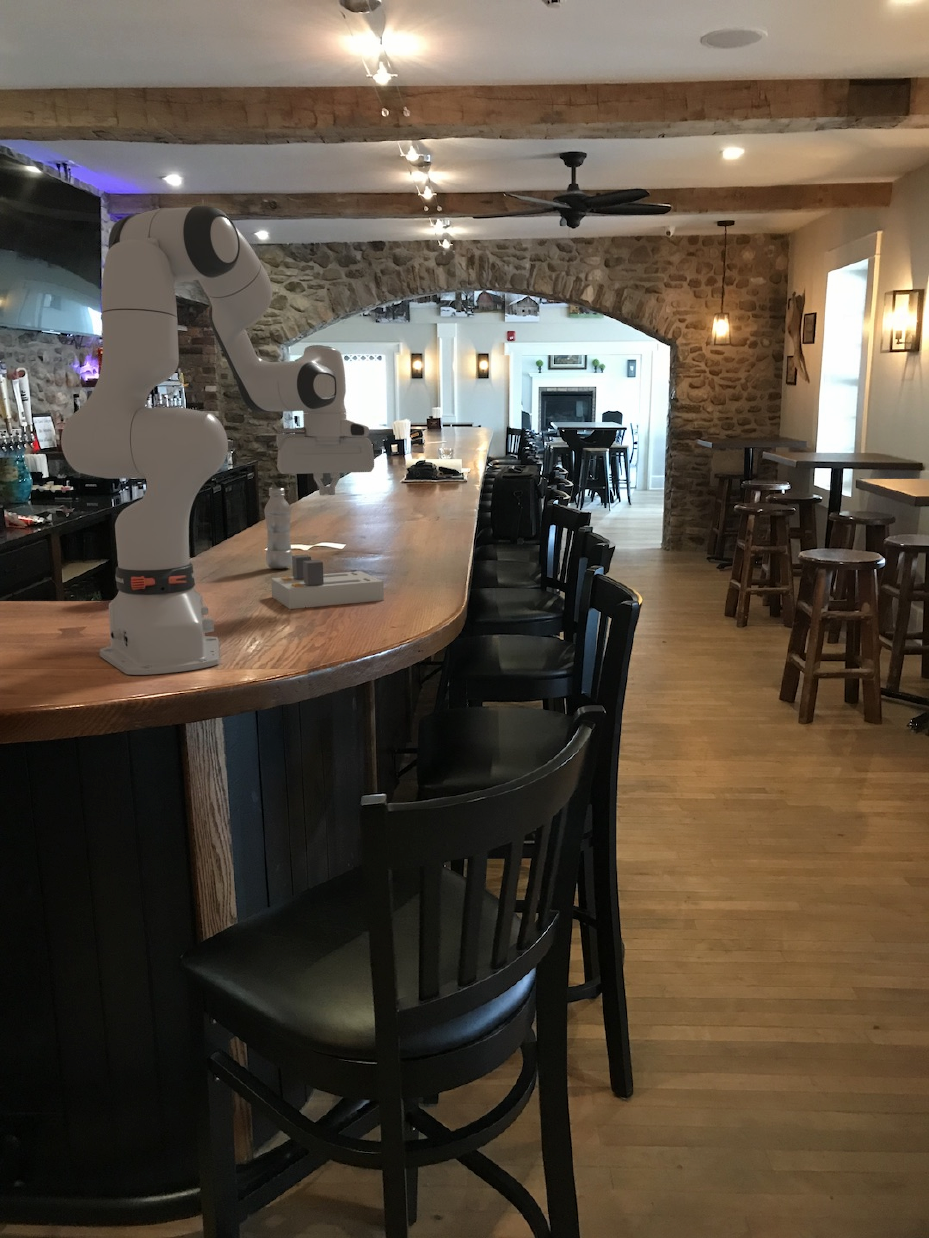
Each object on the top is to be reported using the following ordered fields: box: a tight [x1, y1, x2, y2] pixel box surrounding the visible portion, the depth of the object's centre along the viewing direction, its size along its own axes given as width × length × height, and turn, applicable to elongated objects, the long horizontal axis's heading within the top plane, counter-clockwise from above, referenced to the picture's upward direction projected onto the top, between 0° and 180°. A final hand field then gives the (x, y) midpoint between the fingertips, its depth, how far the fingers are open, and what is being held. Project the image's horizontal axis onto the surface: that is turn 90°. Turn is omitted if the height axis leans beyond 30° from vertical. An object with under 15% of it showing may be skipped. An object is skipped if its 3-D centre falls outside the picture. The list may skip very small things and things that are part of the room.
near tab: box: [303, 559, 324, 585], centre depth 190 cm, size 3×3×4 cm
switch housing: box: [270, 570, 385, 610], centre depth 196 cm, size 14×20×4 cm
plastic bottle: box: [263, 487, 294, 570], centre depth 231 cm, size 6×7×20 cm
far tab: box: [291, 554, 312, 579], centre depth 197 cm, size 3×3×4 cm
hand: (327, 495), depth 196 cm, fingers closed
